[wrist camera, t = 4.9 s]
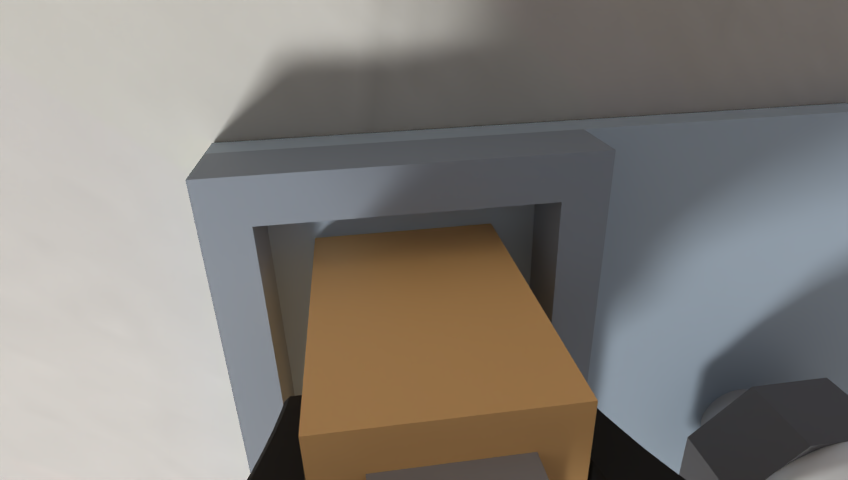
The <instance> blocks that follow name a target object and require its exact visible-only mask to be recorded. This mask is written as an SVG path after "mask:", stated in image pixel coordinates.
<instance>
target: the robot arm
mask: <svg viewBox="0 0 848 480" xmlns="http://www.w3.org/2000/svg"><path fill="white" fill-rule="evenodd" d="M301 400H302V395H297V396H290V397H289V398H288V399H287V400H286V401H285V402H284V404H283V407H282V410H281V412H280V415H279V417H278V419H277V422H276V424H275V426H274V428H273V431H272V433H271V435H270V437H269V439H268V441H267V443H266V445H265V447H264V449H263V451H262V453H261V455H260V457H259V459H258V461H257V462H256V464H255V466H254V468H253V470H252V472H251V474H250V475H249V477H248V479H247V480H305V474H304V468H303V461H302V455H301V449H300V443H299V437H298V436H299V424H300V412H301ZM587 480H686V479H684V478H683V477H681V476H680V475H679V474H677V473H676V472H675V471H673V470H672V469H671V468H669V467H668V466H667V465H665V464H664V463H663V462H661V461H660V460H659V459H658V458H656V457H655V456H654V455H652V454H651V453H650V452H648V451H647V450H646V449H645V448H643V447H642V446H641V445H640V444H638V443H637V442H636V441H635V440H634V439H632V438H631V437H630V436H629V435H628V434H627V433H625V432H624V431H623V430H622V429H621V428H620V427H618V426H617V425H616V424H615V423H614V422H612V421H611V420H610V419H609V418H608V417H607V416H606V415H604V414H603V413H602V412H601V411H600V410H599V409H598V408H597V412H596V420H595V427H594V434H593V442H592V449H591V457H590V464H589V471H588V479H587Z"/></svg>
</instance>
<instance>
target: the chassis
mask: <svg viewBox="0 0 848 480" xmlns="http://www.w3.org/2000/svg"><path fill="white" fill-rule="evenodd" d="M186 184H187V189H188V193H189V198H190V202H191V207H192V211H193V216H194V220H195V225H196V229H197V234H198V238H199V243H200V247H201V252H202V256H203V261H204V265H205V270H206V274H207V279H208V283H209V288H210V292H211V297H212V301H213V306H214V310H215V315H216V319H217V324H218V328H219V333H220V337H221V342H222V346H223V351H224V355H225V360H226V365H227V369H228V374H229V378H230V383H231V387H232V392H233V396H234V401H235V405H236V410H237V414H238V419H239V423H240V428H241V432H242V437H243V441H244V446H245V450H246V455H247V459H248V464H249V468H250V473H251V472H252V470H253V468H254V466H255V464H256V462H257V461H258V459H259V457H260V455H261V453H262V451H263V449H264V447H265V445H266V443H267V441H268V439H269V437H270V435H271V433H272V431H273V428H274V426H275V424H276V422H277V419H278V417H279V415H280V412H281V410H282V407H283V404H284V402H285V401H286V400H287V399H288V398H289V397H290V396H297V395H302V388H303V376H304V364H305V352H306V341H307V329H308V317H309V305H310V293H311V281H312V269H313V257H314V245H315V238H321V237H333V236H345V235H357V234H369V233H381V232H393V231H405V230H418V229H430V228H442V227H454V226H466V225H478V224H490V223H491V224H492V226H493V227H494V229H495V231H496V232H497V234H498V236H499V237H500V239H501V241H502V242H503V244H504V246H505V247H506V249H507V251H508V252H509V254H510V256H511V257H512V259H513V261H514V262H515V264H516V266H517V267H518V269H519V270H520V272H521V274H522V275H523V277H524V279H525V280H526V282H527V284H528V285H529V287H530V289H531V290H532V292H533V294H534V295H535V297H536V299H537V300H538V302H539V304H540V305H541V307H542V309H543V310H544V312H545V314H546V315H547V317H548V319H549V320H550V322H551V324H552V325H553V327H554V329H555V330H556V332H557V334H558V335H559V337H560V338H561V340H562V342H563V343H564V345H565V347H566V348H567V350H568V352H569V353H570V355H571V357H572V358H573V360H574V362H575V363H576V365H577V367H578V368H579V370H580V372H581V373H582V375H583V377H584V378H585V380H586V382H587V383H588V385H589V387H590V388H591V390H592V392H593V393H594V395H595V397H596V398H597V400H598V405H597V408H598V409H599V410H600V411H601V412H602V413H603V414H604V415H606V416H607V417H608V418H609V419H610V420H611V421H612V422H614V423H615V424H616V425H617V426H618V427H620V428H621V429H622V430H623V431H624V432H625V433H627V434H628V435H629V436H630V437H631V438H632V439H634V440H635V441H636V442H637V443H638V444H640V445H641V446H642V447H643V448H645V449H646V450H647V451H648V452H650V453H651V454H652V455H654V456H655V457H656V458H658V459H659V460H660V461H661V462H663V463H664V464H665V465H667V466H668V467H669V468H671V469H672V470H673V471H675V472H676V473H677V474H679V472H680V468H681V463H682V459H683V455H684V450H685V446H686V442H687V437H688V436H690V435H691V434H692V433H693V432H695V431H696V430H697V429H699V428H700V427H701V426H702V425H704V424H705V423H706V422H707V421H709V420H710V419H711V418H713V417H714V416H715V415H716V414H718V413H719V412H720V411H721V410H723V409H724V408H725V407H727V406H728V405H729V404H730V403H732V402H733V401H734V400H735V399H737V398H738V397H739V396H741V395H742V394H743V393H744V392H746V391H747V390H748V389H750V388H751V387H753V386H761V385H769V384H777V383H786V382H794V381H802V380H810V379H819V378H828V379H829V380H830V381H832V382H833V383H834V384H835V385H836V386H838V387H839V388H840V389H841V390H842V391H844V392H845V393H846V394H847V395H848V103H838V104H822V105H806V106H790V107H775V108H759V109H743V110H727V111H711V112H695V113H679V114H664V115H648V116H632V117H616V118H600V119H584V120H568V121H553V122H537V123H521V124H505V125H489V126H473V127H457V128H442V129H426V130H410V131H394V132H378V133H362V134H346V135H330V136H315V137H299V138H283V139H267V140H251V141H235V142H219V143H212V144H211V145H210V147H209V148H208V150H207V151H206V152H205V154H204V155H203V157H202V158H201V159H200V161H199V162H198V163H197V165H196V166H195V168H194V169H193V170H192V172H191V173H190V175H189V176H188V177H187V179H186Z"/></svg>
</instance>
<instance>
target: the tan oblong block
mask: <svg viewBox="0 0 848 480" xmlns="http://www.w3.org/2000/svg"><path fill="white" fill-rule="evenodd" d="M597 405H598V400H597V398H596V397H595V395H594V393H593V392H592V390H591V388H590V387H589V385H588V383H587V382H586V380H585V378H584V377H583V375H582V373H581V372H580V370H579V368H578V367H577V365H576V363H575V362H574V360H573V358H572V357H571V355H570V353H569V352H568V350H567V348H566V347H565V345H564V343H563V342H562V340H561V338H560V337H559V335H558V334H557V332H556V330H555V329H554V327H553V325H552V324H551V322H550V320H549V319H548V317H547V315H546V314H545V312H544V310H543V309H542V307H541V305H540V304H539V302H538V300H537V299H536V297H535V295H534V294H533V292H532V290H531V289H530V287H529V285H528V284H527V282H526V280H525V279H524V277H523V275H522V274H521V272H520V270H519V269H518V267H517V266H516V264H515V262H514V261H513V259H512V257H511V256H510V254H509V252H508V251H507V249H506V247H505V246H504V244H503V242H502V241H501V239H500V237H499V236H498V234H497V232H496V231H495V229H494V227H493V226H492V224H491V223H490V224H478V225H466V226H454V227H442V228H430V229H418V230H405V231H393V232H381V233H369V234H357V235H345V236H333V237H321V238H315V245H314V257H313V269H312V281H311V293H310V305H309V317H308V329H307V341H306V352H305V364H304V376H303V388H302V400H301V412H300V424H299V436H298V437H299V443H300V449H301V455H302V461H303V468H304V474H305V480H587V479H588V471H589V464H590V457H591V449H592V442H593V434H594V427H595V420H596V412H597Z"/></svg>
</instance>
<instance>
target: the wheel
mask: <svg viewBox="0 0 848 480" xmlns="http://www.w3.org/2000/svg"><path fill="white" fill-rule="evenodd" d="M679 475H680V476H681V477H683V478H684V479H686V480H848V395H847V394H846V393H845V392H844V391H842V390H841V389H840V388H839V387H838V386H836V385H835V384H834V383H833V382H832V381H830V380H829V379H828V378H819V379H810V380H802V381H794V382H786V383H777V384H769V385H761V386H753V387H751V388H750V389H748V390H747V391H746V392H744V393H743V394H742V395H741V396H739V397H738V398H737V399H735V400H734V401H733V402H732V403H730V404H729V405H728V406H727V407H725V408H724V409H723V410H721V411H720V412H719V413H718V414H716V415H715V416H714V417H713V418H711V419H710V420H709V421H707V422H706V423H705V424H704V425H702V426H701V427H700V428H699V429H697V430H696V431H695V432H693V433H692V434H691V435H690V436H688V437H687V442H686V446H685V450H684V455H683V459H682V463H681V468H680V472H679Z"/></svg>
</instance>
